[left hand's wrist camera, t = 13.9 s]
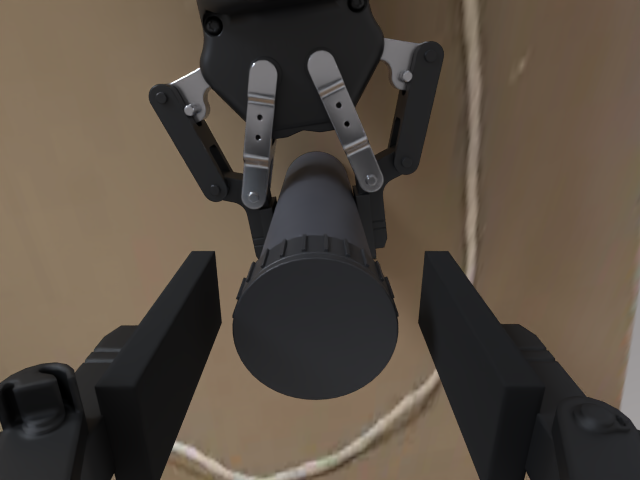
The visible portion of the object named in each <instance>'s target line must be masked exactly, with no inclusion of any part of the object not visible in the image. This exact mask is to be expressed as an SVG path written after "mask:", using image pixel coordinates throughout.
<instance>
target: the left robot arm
mask: <svg viewBox="0 0 640 480" xmlns="http://www.w3.org/2000/svg"><path fill="white" fill-rule="evenodd" d="M221 323H222V320H221V310H220V299H219V289H218V278H217V268H216V257H215V251H192V252H191V253H190V254H189V256H188V257H187V259H186V260H185V261H184V263H183V264H182V266H181V267H180V268H179V270H178V271H177V273H176V274H175V275H174V277H173V278H172V279H171V281H170V282H169V284H168V285H167V286H166V288H165V289H164V291H163V292H162V293H161V295H160V296H159V298H158V299H157V300H156V302H155V303H154V304H153V306H152V307H151V309H150V310H149V311H148V313H147V314H146V316H145V317H144V318H143V320H142V321H141V323H140V324H139V325H138V326H120V327H118V328H117V329H115V330H114V331H112V332H111V333H109V334H108V335H106V336H105V337H104V338H103V339H102V340H101V341H100V343H99V344H98V345H97V346H96V348H95V349H94V352H91V354H90V355H89V356H88V357H87V359H86V360H85V363H82V365H81V366H80V367H79V368H78V370H77V371H76V372H75V373H74V369H73V368H71V367H70V366H69V365H67V364H62V363H45V364H39V365H36V366H32V367H29V368H25V369H23V370H21V371H19V372H17V373H15V374H13V375H11V376H9V377H8V378H7V379H5V380H4V381H2V382H1V383H0V422H1V425H2V428H3V432H0V480H111V478H112V476H113V474H114V473H115V478H116V480H160V478H161V476H162V473H163V471H164V468H165V466H166V463H167V461H168V458H169V456H170V453H171V451H172V448H173V445H174V443H175V440H176V438H177V435H178V433H179V430H180V428H181V425H182V423H183V420H184V417H185V415H186V412H187V410H188V407H189V405H190V402H191V400H192V397H193V395H194V392H195V390H196V387H197V384H198V382H199V379H200V377H201V374H202V372H203V369H204V367H205V364H206V362H207V359H208V356H209V354H210V351H211V349H212V346H213V344H214V341H215V339H216V336H217V334H218V331H219V329H220V326H221ZM418 323H419V326H420V329H421V331H422V334H423V336H424V339H425V341H426V344H427V346H428V349H429V351H430V354H431V356H432V359H433V362H434V364H435V367H436V369H437V372H438V374H439V377H440V379H441V382H442V384H443V387H444V390H445V392H446V395H447V397H448V400H449V402H450V405H451V407H452V410H453V412H454V415H455V417H456V420H457V423H458V425H459V428H460V430H461V433H462V435H463V438H464V440H465V443H466V445H467V448H468V451H469V453H470V456H471V458H472V461H473V463H474V466H475V468H476V471H477V473H478V476H479V478H480V480H524V478H525V473H526V472H527V474H528V476H529V478H530V480H640V430H637V429H636V427H635V426H634V425H633V423H632V422H631V420H630V419H629V418H628V417H627V416H625V415H624V414H623V413H622V412H621V411H619V410H618V409H616V408H614V407H612V406H610V405H609V404H607V403H605V402H602V401H599V400H596V399H593V398H590V397H586V396H585V394H584V393H583V392H582V391H581V389H580V388H579V387H578V386H577V385H576V383H575V382H574V381H573V380H572V379H571V377H570V376H569V375H568V374H567V372H566V371H565V370H564V369H563V368H562V366H561V365H560V364H559V363H558V362H557V361H555V358H554V357H553V355H552V354H551V353H550V352H549V351H547V350H546V347H545V346H544V345H543V343H542V342H541V341H540V340H539V338H538V337H537V336H536V335H535V334H533V333H532V332H530V331H529V330H527V329H526V328H524V327H522V326H521V325H519V324H500V323H499V321H498V320H497V318H496V317H495V316H494V314H493V313H492V311H491V310H490V309H489V307H488V306H487V304H486V303H485V302H484V300H483V299H482V298H481V296H480V295H479V293H478V292H477V291H476V289H475V288H474V286H473V285H472V284H471V282H470V281H469V279H468V278H467V277H466V275H465V274H464V273H463V271H462V270H461V268H460V267H459V266H458V264H457V263H456V261H455V260H454V259H453V257H452V256H451V254H450V253H449V252H448V251H425V257H424V268H423V278H422V289H421V299H420V310H419V320H418Z"/></svg>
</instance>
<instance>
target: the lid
mask: <svg viewBox="0 0 640 480" xmlns="http://www.w3.org/2000/svg"><path fill="white" fill-rule="evenodd" d="M393 298H394V295H393V292H392V289H391V286H390V283H389V280H388V278H387V277H384V275H383V273H382V271H381V268H380V264H379V262H378V261H376V262H375V261H374V260H373V259H372V258H371V257H370V256H369V255H368V254H367V253H366V250H365V249H364V248H362V249H360V248H358V247H357V246H355V245H354V244H351V243H349V242H348V239H345V238H344V240H341V239H338V238H335V237H329V236H327V234H324V236H320V235H311V236H307V235H306V234H303V236H302V237H297V238H293V239H290V240H286V239H283V241H282V243H280V244H278V245H276V246H274V247H273V248H271V249H270V250H269V249H268V248H267V249H266V250H265V252H264V255H262V256H261V257H260V258H259V260H258V261H257V262H256V263H255V262H253V263H252V264H251V267H250V270H249V273H248V276H247V278H244V279H243V281H242V284H241V287H240V289H239V292H238V295H237V298H236V299H237V300H238V301H237V304H236V307H235V310H234V312H233V317H232V318H233V338H234V344H235V347H236V350H237V352H238V355H239V357H240V359H241V361H242V362H243V364H244V365H245V366H246V368H247V369H248V370H249V371H250V373H251V374H252V375H253V376H254V377H255V378H257V379H258V380H259V381H260V382H261V383H263V384H264V385H266V386H267V387H269V388H271V389H273V390H275V391H277V392H279V393H282V394H284V395H287V396H291V397H295V398H300V399H309V400H322V399H331V398H336V397H340V396H344V395H347V394H349V393H352V392H354V391H356V390H358V389H360V388H362V387H364V386H365V385H367V384H368V383H369V382H371V381H372V380H373V379H374V378H375V377H377V376H378V375H379V374H380V373H381V371H382V370H383V369H384V368H385V366H386V365H387V363H388V362H389V360H390V359H391V356H392V354H393V352H394V350H395V346H396V343H397V338H398V319H397V317H398V311H397V308H396V305H395V302H394V299H393Z"/></svg>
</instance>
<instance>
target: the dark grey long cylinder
mask: <svg viewBox="0 0 640 480" xmlns="http://www.w3.org/2000/svg"><path fill="white" fill-rule="evenodd" d="M303 234H306V235H307V236H311V235H320V236H324V234H327V236H329V237H335V238H338V239H341V240H344V238H345V239H348V242H349V243H351V244H354V245H355V246H357V247H358V248H360V249H362V248H364V249H365V250H366V253H367V254H368V255H369V256H370V257H371V258H372V256H371V253H370V249H369V246H368V243H367V239H366V236H365V233H364V229H363V226H362V223H361V219H360V216H359V213H358V209H357V206H356V203H355V199H354V196H353V193H352V189H351V186H350V182H349V179H348V176H347V173H346V170H345V168H344V166H343V165H342V164H341V162H340V161H339V160H338V159H336V158H335V157H334V156H332V155H330V154H327V153H324V152H309V153H306V154H303V155H301V156H300V157H298V158H297V159H296V160H294V161H293V163H292V164H291V165H290V167H289V168H288V171H287V173H286V176H285V180H284V183H283V186H282V189H281V192H280V195H279V199H278V202H277V205H276V208H275V211H274V214H273V218H272V221H271V224H270V227H269V230H268V234H267V237H266V240H265V243H264V246H263V249H262V253H261V256H262V255H264V252H265V250H266V249H267V248H268V249H269V250H270V249H271V248H273V247H274V246H276V245H278V244H280V243H282V241H283V239H286V240H290V239H293V238H297V237H302V236H303ZM261 256H260V257H261Z"/></svg>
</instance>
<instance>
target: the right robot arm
mask: <svg viewBox="0 0 640 480" xmlns="http://www.w3.org/2000/svg"><path fill="white" fill-rule="evenodd" d="M197 5H198V9H199V14H200V18H201V23H202V27H203V32H204V45H203V50H202V54H201V58H200V68H199V69H197V70H195V71H193V72H191V73H190V74H188V75H186V76H184V77H182V78H180V79H178V80H176V81H175V82H173V83H170V84H157V85H155V86H153V87H152V88H151V90H150V92H149V101H150V103H151V105H152V107H153V108H154V110H155V112H156V113H157V115H158V117H159V119H160V120H161V122H162V124H163V125H164V127H165V129H166V130H167V132H168V134H169V136H170V137H171V139H172V141H173V142H174V144H175V146H176V147H177V149H178V151H179V152H180V154H181V156H182V158H183V159H184V161H185V163H186V164H187V166H188V168H189V169H190V171H191V173H192V175H193V176H194V178H195V180H196V181H197V183H198V185H199V186H200V188H201V190H202V192H203V193H204V195H205V196H206V198H207V199H209V200H211V201H213V202H219V201H222V200H224V201H229V202H234V203H238V204H240V205H241V206H242V207H243V208H244V209H245V210H246V212H247V216H248V220H249V225H250V230H251V234H252V238H253V243H254V248H255V253H256V256H257V258H258V259H259V258H260V256H261V253H262V249H263V246H264V243H265V240H266V237H267V234H268V230H269V227H270V224H271V221H272V218H273V214H274V211H275V208H276V205H277V200H276V197H271V192H270V188H271V179H272V170H273V161H274V154H275V148H276V140H277V139H278V138H285V137H289V136H291V135H293V134H295V133H298V132H300V131H302V130H306V131H315V132H324V131H331V130H335V131H336V133H337V136H338V138H339V140H340V142H341V145H342V147H343V149H344V151H345V153H346V155H347V158H348V160H349V162H350V164H351V167H352V169H353V171H354V173H355V180H356V185H354V186H353V194H354V199H355V203H356V206H357V209H358V213H359V216H360V219H361V223H362V226H363V229H364V233H365V236H366V239H367V243H368V246H369V249H370V253H371V256H372V259H376V248H383V247H384V246H385V243H386V240H387V232H386V222H385V212H384V202H383V190H384V187H385V185H386V184H387V183H388V182H389V181H391V180H392V179H394V178H396V177H398V176H400V175H402V174H404V175H408V174H411V173H413V172H414V171H415V170H416V169H417V168H418V165H419V161H420V157H421V153H422V148H423V144H424V140H425V136H426V131H427V127H428V123H429V118H430V114H431V110H432V105H433V101H434V97H435V93H436V88H437V84H438V80H439V75H440V71H441V67H442V62H443V58H444V51H443V48H442V47H441V45H440V44H438V43H437V42H434V41H429V42H423V43H420V44H417V43H411V42H405V41H399V40H393V39H387V38H384V36H383V33H382V30H381V28H380V27H379V25H378V24H377V22H376V21H375V19H374V17H373V15H372V12H371V9H370V5H369V0H197ZM379 61H382V62H384V63H385V64H386V65H387V67H388V70H389V82H390V84H391V85H392V86H393V87H394V88H396V89H399V90H400V91H399V95H398V100H397V105H396V110H395V115H394V120H393V125H392V130H391V135H390V140H389V144H388V148H387V149H386V150H384V151H382V152H380V153H378V154H376V155H374V154H373V151H372V149H371V146H370V144H369V141H368V138H367V136H366V133H365V131H364V129H363V126H362V124H361V122H360V119H359V117H358V115H357V112H356V110H355V107H356V105H357V103H358V101H359V99H360V97H361V95H362V93H363V92H364V90H365V88H366V86H367V84H368V82H369V80H370V78H371V76H372V74H373V73H374V71H375V69H376V67H377V65H378V63H379ZM211 88H212V89H213V90H214V91H215V92H216V93H217V94H218V95H219V96H220V97H221V98H222V99H223V100H224V101H225V102H226V103H227V104H228V105H229V106H230V107H231V108H232V109H233V110H234V111H235V112H236V113H237V114H238V115H239V116H240V117H241V118H242V119H243V120H244V121H245V122H246V129H245V141H244V154H243V160H244V172H243V174H241V173H236V172H233V170H232V169H231V167H230V165H229V163H228V161H227V160H226V158H225V156H224V154H223V152H222V151H221V149H220V147H219V145H218V143H217V142H216V140H215V138H214V136H213V134H212V133H211V131H210V129H209V127H208V125H207V123H206V122H205V119H206V118H207V117H208V116H209V114H210V105H209V102H208V93H209V91H210V89H211Z"/></svg>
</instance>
